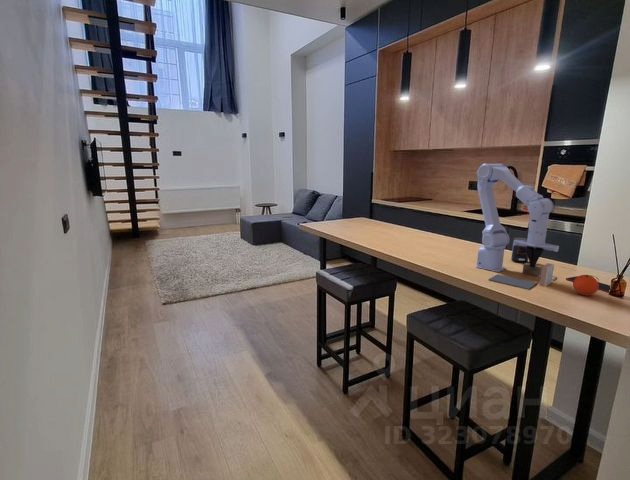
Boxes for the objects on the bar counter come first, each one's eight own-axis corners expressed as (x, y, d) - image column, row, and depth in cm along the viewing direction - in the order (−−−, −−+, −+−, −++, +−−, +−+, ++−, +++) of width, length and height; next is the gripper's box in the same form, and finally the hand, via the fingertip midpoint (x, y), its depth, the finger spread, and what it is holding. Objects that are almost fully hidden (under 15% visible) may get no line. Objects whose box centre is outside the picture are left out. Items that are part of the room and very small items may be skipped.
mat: (488, 280, 135) (488, 279, 135) (497, 275, 141) (497, 274, 141) (528, 289, 125) (529, 288, 125) (536, 283, 131) (537, 282, 130)
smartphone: (608, 291, 122) (564, 278, 135) (608, 294, 122) (564, 280, 135) (621, 288, 124) (577, 275, 138) (621, 291, 124) (577, 278, 138)
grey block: (521, 274, 142) (522, 264, 141) (525, 271, 145) (526, 262, 144) (553, 280, 134) (554, 270, 133) (556, 278, 137) (557, 268, 136)
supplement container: (524, 259, 163) (527, 237, 160) (530, 263, 156) (533, 241, 154) (508, 259, 164) (511, 237, 161) (514, 263, 157) (517, 240, 155)
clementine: (588, 290, 124) (592, 271, 122) (605, 298, 117) (609, 277, 115) (566, 291, 123) (569, 271, 122) (581, 298, 117) (585, 278, 115)
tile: (539, 285, 130) (542, 266, 128) (545, 280, 134) (547, 263, 133) (545, 286, 128) (548, 268, 127) (551, 282, 133) (554, 264, 131)
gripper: (512, 230, 133) (508, 264, 136) (557, 235, 123) (551, 273, 126) (518, 227, 138) (514, 261, 141) (562, 233, 127) (557, 269, 130)
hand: (532, 266), depth 134 cm, fingers closed
